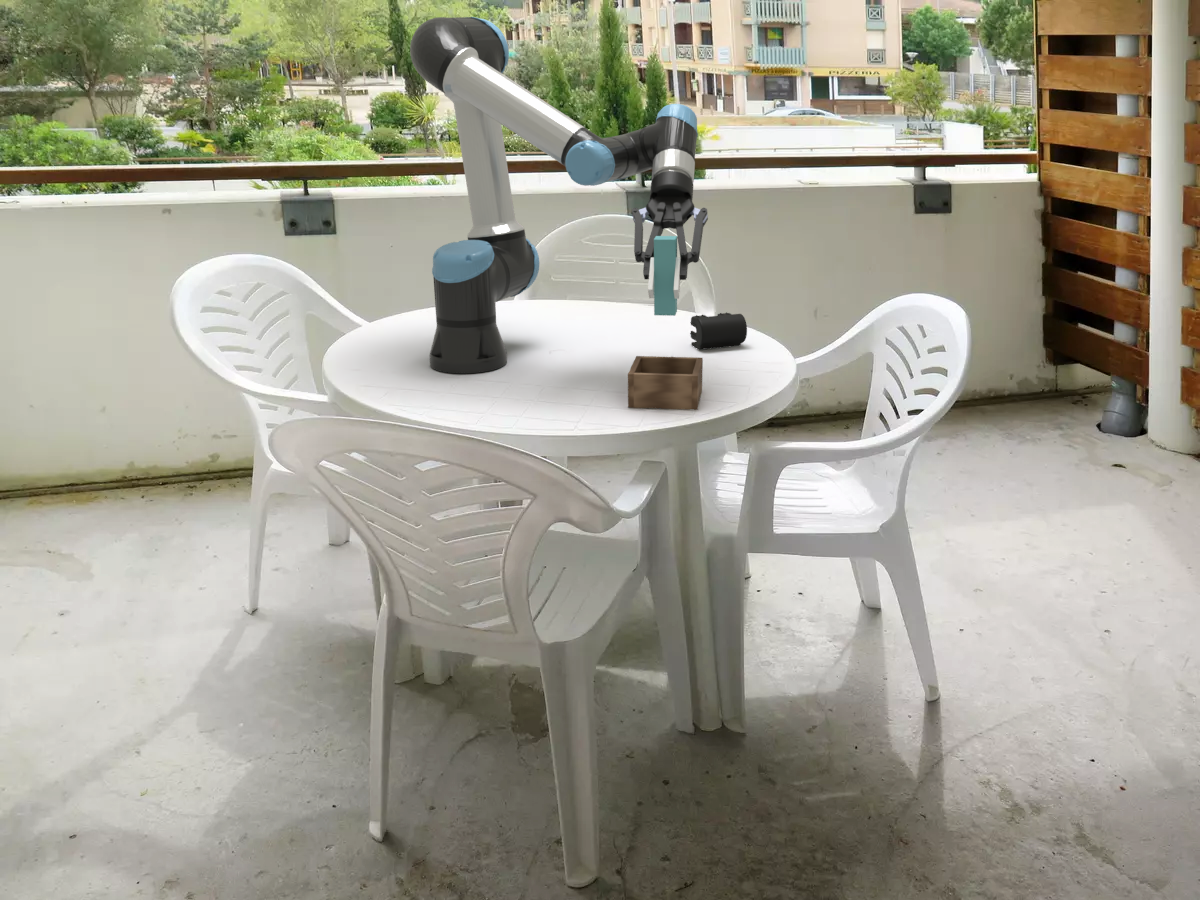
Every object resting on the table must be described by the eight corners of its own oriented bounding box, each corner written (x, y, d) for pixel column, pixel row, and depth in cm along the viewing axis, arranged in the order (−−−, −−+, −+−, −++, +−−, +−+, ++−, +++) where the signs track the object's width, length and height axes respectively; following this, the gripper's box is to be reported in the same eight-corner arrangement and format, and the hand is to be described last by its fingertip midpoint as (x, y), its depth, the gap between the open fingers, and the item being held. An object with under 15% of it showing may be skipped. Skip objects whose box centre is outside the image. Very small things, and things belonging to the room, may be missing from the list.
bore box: (628, 407, 203) (627, 374, 201) (636, 387, 214) (636, 356, 212) (697, 409, 201) (697, 376, 199) (702, 389, 212) (702, 357, 210)
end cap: (701, 353, 236) (702, 320, 234) (688, 345, 243) (688, 313, 240) (747, 349, 239) (748, 316, 237) (732, 341, 246) (733, 309, 243)
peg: (654, 315, 201) (653, 239, 197) (656, 310, 204) (656, 236, 200) (675, 315, 200) (675, 239, 196) (677, 310, 204) (677, 236, 199)
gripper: (720, 195, 209) (713, 306, 199) (627, 195, 212) (616, 305, 202) (718, 168, 203) (712, 282, 193) (623, 169, 205) (612, 281, 195)
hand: (663, 293), depth 197 cm, fingers closed on peg, 4 cm apart
